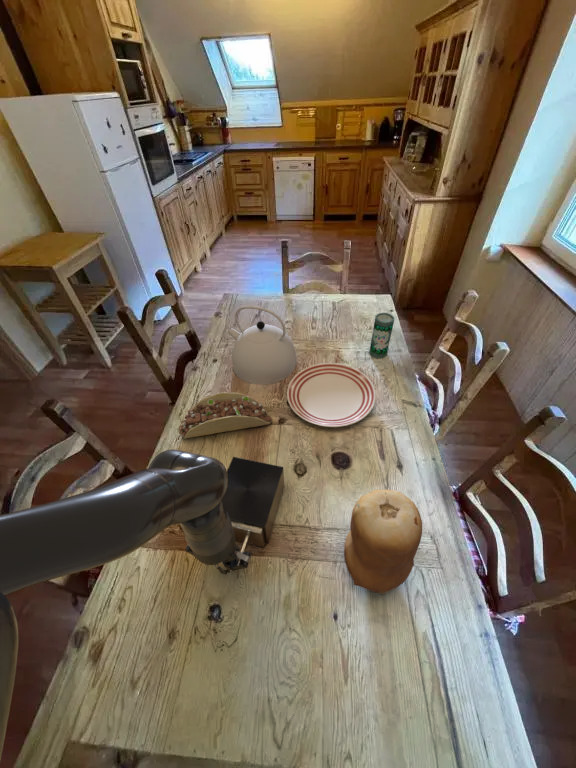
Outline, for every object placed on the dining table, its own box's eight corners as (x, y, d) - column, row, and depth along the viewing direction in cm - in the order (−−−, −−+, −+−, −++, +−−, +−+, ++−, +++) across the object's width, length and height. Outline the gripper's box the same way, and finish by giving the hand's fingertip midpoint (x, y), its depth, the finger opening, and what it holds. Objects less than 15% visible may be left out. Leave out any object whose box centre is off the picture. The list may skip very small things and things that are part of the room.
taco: (273, 432, 99) (271, 409, 92) (179, 448, 96) (169, 426, 89) (268, 408, 106) (266, 384, 99) (180, 422, 103) (171, 399, 96)
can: (368, 357, 122) (375, 321, 111) (369, 346, 126) (375, 311, 116) (386, 359, 121) (394, 323, 110) (386, 348, 125) (394, 313, 114)
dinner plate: (299, 441, 96) (299, 434, 94) (279, 377, 116) (278, 370, 113) (389, 422, 100) (391, 415, 98) (355, 363, 120) (356, 356, 117)
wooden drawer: (255, 575, 71) (251, 563, 66) (205, 562, 73) (197, 549, 68) (279, 492, 85) (278, 476, 79) (236, 482, 87) (232, 467, 82)
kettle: (215, 373, 118) (201, 318, 102) (245, 336, 133) (237, 283, 117) (281, 391, 111) (277, 335, 95) (305, 350, 126) (305, 295, 110)
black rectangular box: (268, 544, 77) (265, 527, 70) (216, 530, 79) (208, 513, 73) (284, 486, 87) (283, 466, 80) (238, 476, 89) (233, 456, 83)
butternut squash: (359, 521, 80) (374, 462, 62) (415, 555, 74) (449, 501, 56) (329, 575, 72) (337, 524, 54) (389, 618, 66) (420, 577, 48)
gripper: (163, 544, 56) (187, 580, 68) (238, 565, 53) (250, 598, 65) (184, 502, 61) (203, 542, 73) (254, 520, 59) (261, 558, 70)
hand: (225, 568), depth 69 cm, fingers closed
